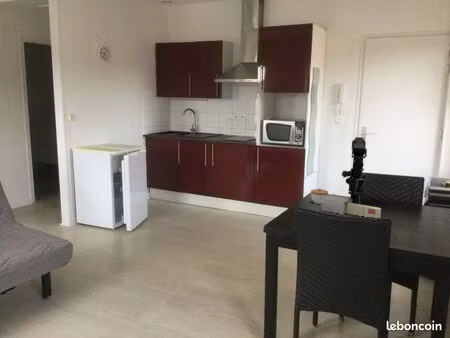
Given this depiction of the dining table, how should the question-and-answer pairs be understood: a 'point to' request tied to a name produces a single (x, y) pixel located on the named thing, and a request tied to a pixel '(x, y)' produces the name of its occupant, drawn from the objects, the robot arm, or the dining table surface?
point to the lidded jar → (318, 195)
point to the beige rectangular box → (363, 210)
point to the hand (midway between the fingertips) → (355, 192)
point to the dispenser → (334, 204)
